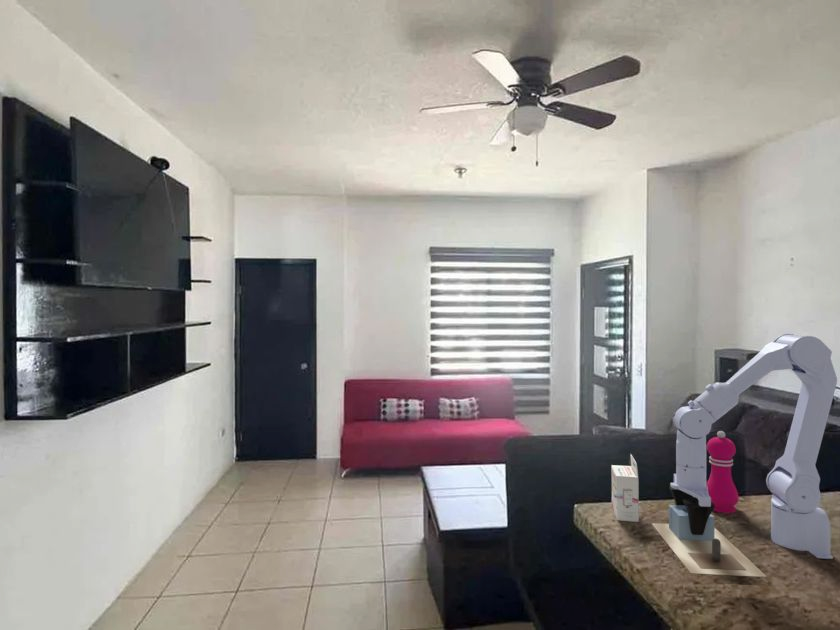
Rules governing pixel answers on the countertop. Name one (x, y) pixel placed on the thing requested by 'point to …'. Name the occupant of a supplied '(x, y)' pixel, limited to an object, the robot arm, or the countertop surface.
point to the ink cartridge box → (625, 491)
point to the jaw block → (682, 526)
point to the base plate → (709, 555)
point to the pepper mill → (722, 474)
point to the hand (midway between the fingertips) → (690, 527)
